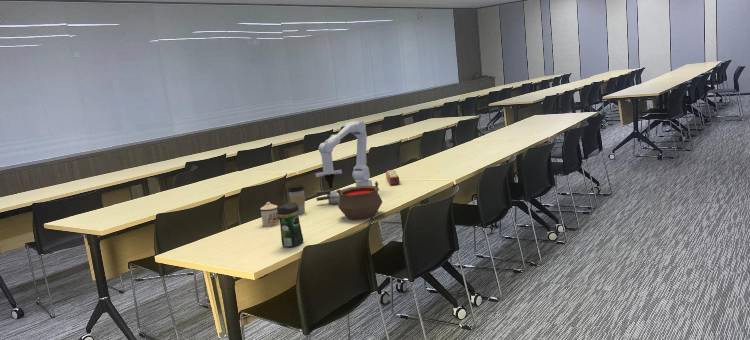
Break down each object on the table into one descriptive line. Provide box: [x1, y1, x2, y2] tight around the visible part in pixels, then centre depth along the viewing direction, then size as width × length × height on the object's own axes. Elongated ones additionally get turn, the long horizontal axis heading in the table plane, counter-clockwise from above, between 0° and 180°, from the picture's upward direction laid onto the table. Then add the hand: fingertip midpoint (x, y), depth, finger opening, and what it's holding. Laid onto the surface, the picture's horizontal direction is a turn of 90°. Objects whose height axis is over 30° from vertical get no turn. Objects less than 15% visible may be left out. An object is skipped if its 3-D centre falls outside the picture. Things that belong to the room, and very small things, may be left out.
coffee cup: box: [287, 184, 306, 216], centre depth 312 cm, size 9×9×15 cm
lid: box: [315, 189, 340, 197], centre depth 328 cm, size 20×14×4 cm
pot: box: [315, 195, 340, 206], centre depth 329 cm, size 22×13×4 cm, turn 103°
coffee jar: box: [277, 202, 304, 248], centre depth 253 cm, size 10×8×19 cm
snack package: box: [385, 169, 400, 187], centre depth 368 cm, size 21×7×7 cm, turn 5°
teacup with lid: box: [259, 201, 280, 228], centre depth 296 cm, size 12×9×12 cm
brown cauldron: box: [337, 180, 383, 221], centre depth 290 cm, size 24×24×16 cm
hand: (330, 187), depth 323 cm, fingers closed
